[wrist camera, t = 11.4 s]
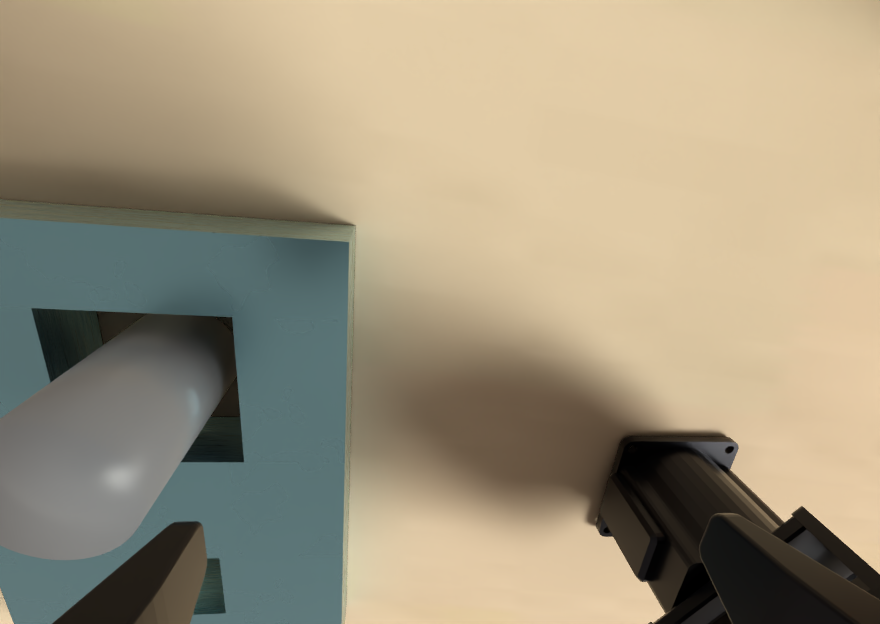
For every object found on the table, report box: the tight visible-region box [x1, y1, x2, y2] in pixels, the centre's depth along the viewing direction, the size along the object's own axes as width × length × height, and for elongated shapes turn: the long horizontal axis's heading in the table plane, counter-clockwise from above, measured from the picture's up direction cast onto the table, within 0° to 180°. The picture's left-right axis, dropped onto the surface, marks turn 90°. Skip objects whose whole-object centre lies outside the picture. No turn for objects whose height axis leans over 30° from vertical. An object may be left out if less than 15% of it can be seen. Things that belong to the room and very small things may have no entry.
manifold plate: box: [0, 199, 356, 624], centre depth 19 cm, size 14×22×3 cm, turn 175°
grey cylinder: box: [0, 313, 237, 560], centre depth 15 cm, size 4×4×8 cm
